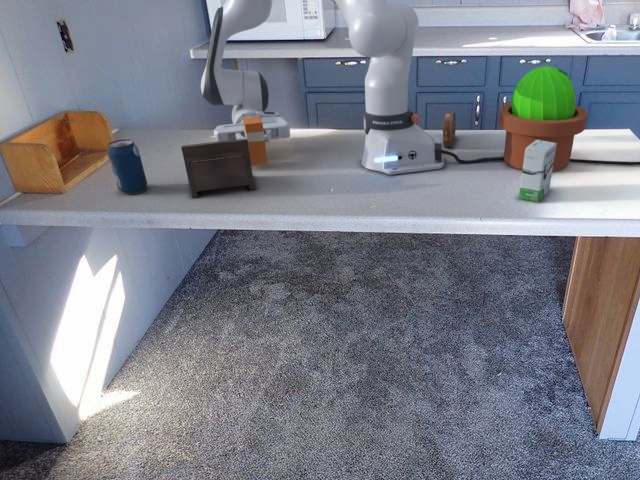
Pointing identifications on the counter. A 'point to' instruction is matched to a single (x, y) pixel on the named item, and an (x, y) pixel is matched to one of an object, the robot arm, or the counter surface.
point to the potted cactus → (542, 116)
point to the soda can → (127, 166)
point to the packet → (255, 140)
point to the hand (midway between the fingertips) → (255, 140)
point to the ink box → (537, 170)
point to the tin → (449, 129)
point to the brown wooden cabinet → (218, 165)
